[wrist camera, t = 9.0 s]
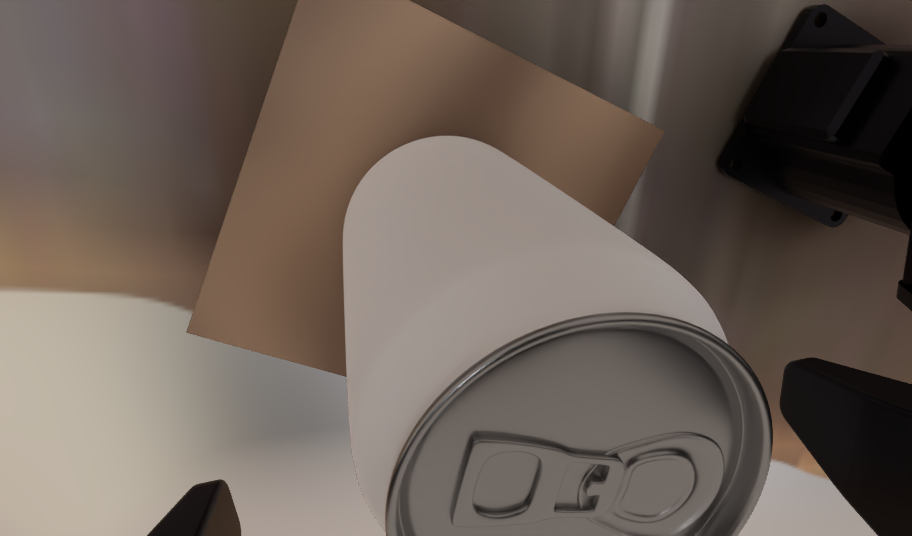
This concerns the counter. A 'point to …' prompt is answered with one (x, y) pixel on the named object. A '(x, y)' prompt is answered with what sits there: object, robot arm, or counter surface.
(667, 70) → the counter surface
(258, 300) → the base
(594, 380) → the can
